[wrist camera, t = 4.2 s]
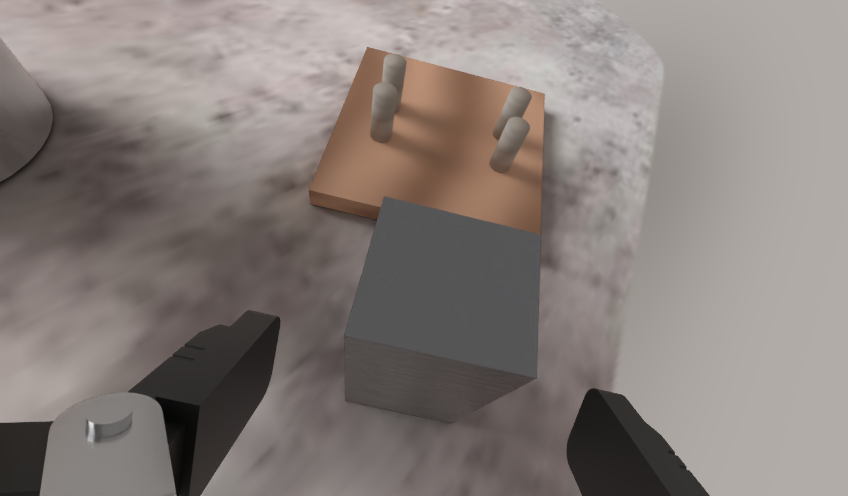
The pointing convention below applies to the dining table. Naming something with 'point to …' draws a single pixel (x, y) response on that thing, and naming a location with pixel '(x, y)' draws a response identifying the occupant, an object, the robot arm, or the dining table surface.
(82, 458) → the robot arm
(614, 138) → the dining table surface
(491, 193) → the wooden peg holder
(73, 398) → the dining table surface
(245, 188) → the dining table surface
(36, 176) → the dining table surface
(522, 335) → the block
